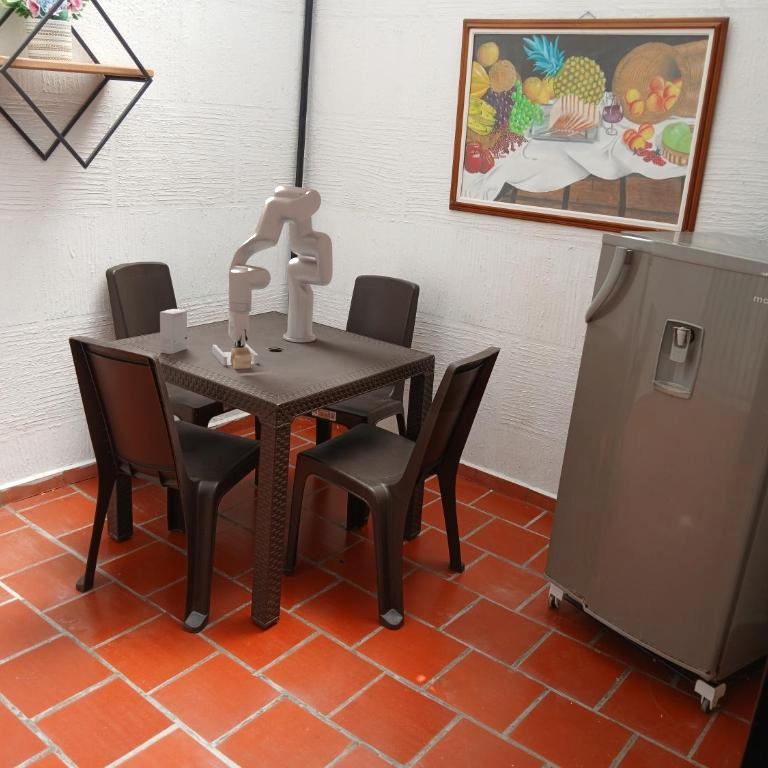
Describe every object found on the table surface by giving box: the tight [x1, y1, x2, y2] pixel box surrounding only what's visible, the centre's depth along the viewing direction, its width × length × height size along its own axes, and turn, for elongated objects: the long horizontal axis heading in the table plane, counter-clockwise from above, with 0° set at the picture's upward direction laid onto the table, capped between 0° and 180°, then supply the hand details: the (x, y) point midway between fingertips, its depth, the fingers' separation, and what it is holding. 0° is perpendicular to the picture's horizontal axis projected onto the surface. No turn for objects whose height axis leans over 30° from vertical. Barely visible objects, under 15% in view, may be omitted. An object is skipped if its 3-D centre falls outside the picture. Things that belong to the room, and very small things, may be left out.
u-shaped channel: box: [212, 342, 259, 366], centre depth 280 cm, size 15×12×4 cm
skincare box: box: [159, 308, 188, 356], centre depth 283 cm, size 8×6×15 cm
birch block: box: [230, 347, 252, 370], centre depth 271 cm, size 6×6×6 cm
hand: (239, 358), depth 276 cm, fingers closed
